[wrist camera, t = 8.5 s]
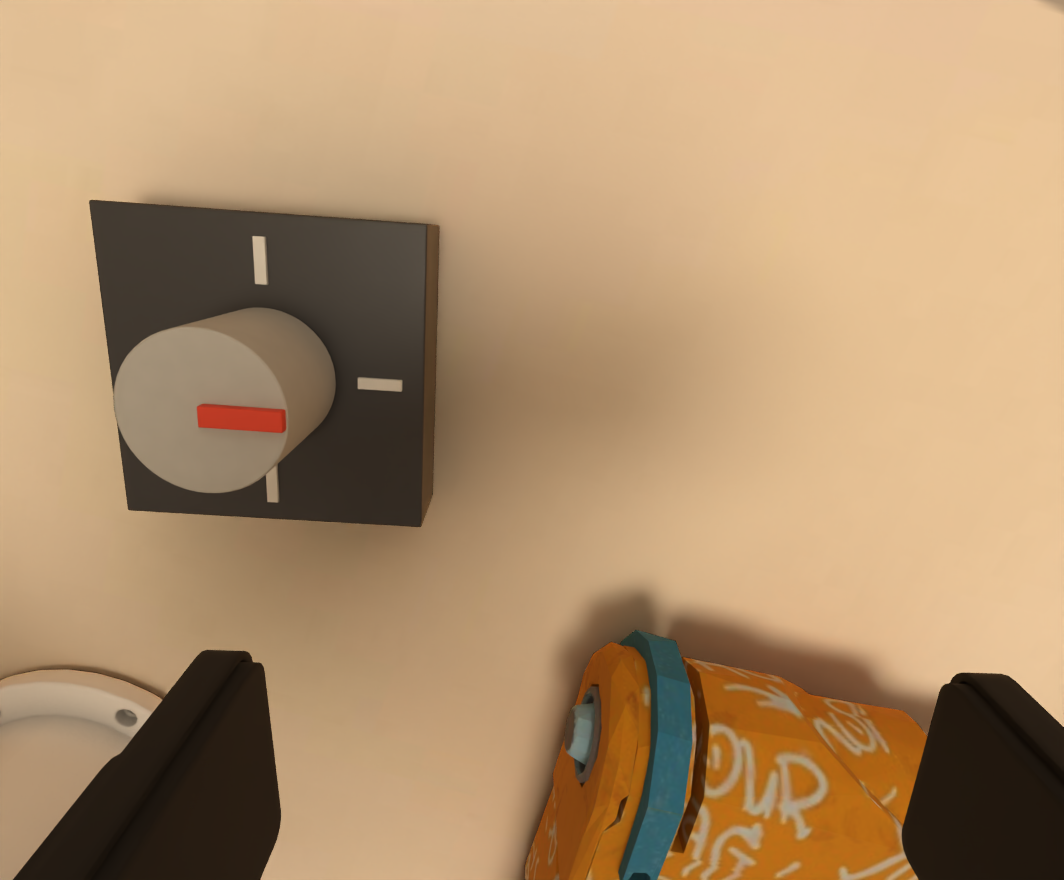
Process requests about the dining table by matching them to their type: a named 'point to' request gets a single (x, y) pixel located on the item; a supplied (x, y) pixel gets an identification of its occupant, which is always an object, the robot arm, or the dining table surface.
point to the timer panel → (327, 309)
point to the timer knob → (223, 397)
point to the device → (722, 777)
